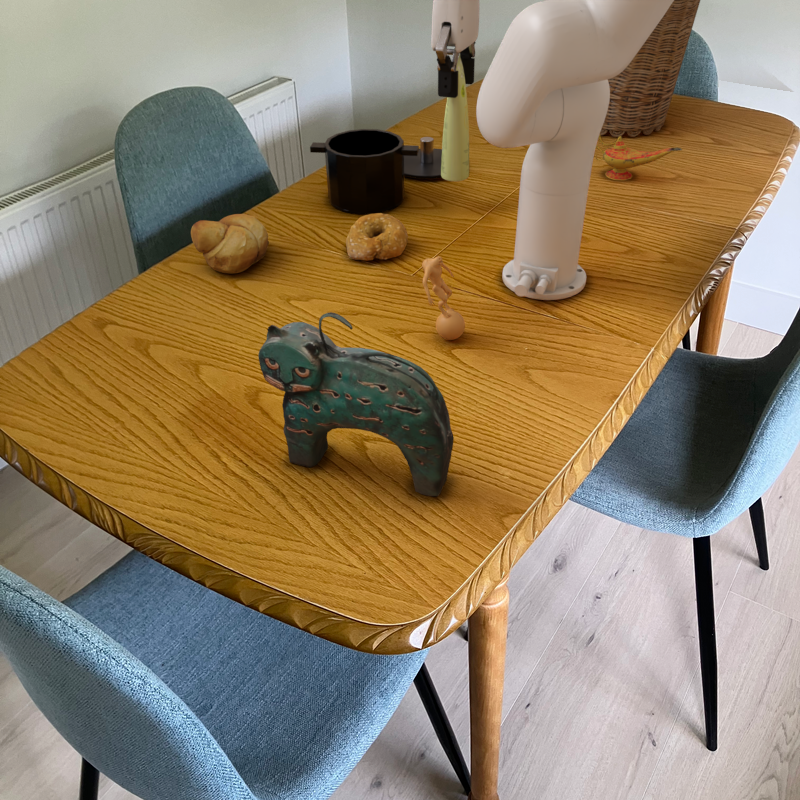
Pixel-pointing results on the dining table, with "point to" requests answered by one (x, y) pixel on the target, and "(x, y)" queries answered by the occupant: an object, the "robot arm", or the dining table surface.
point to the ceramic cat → (356, 399)
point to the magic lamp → (628, 158)
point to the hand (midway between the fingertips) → (456, 89)
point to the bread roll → (231, 242)
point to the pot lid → (424, 161)
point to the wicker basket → (651, 75)
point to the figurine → (450, 320)
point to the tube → (456, 133)
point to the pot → (365, 170)
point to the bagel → (376, 237)
